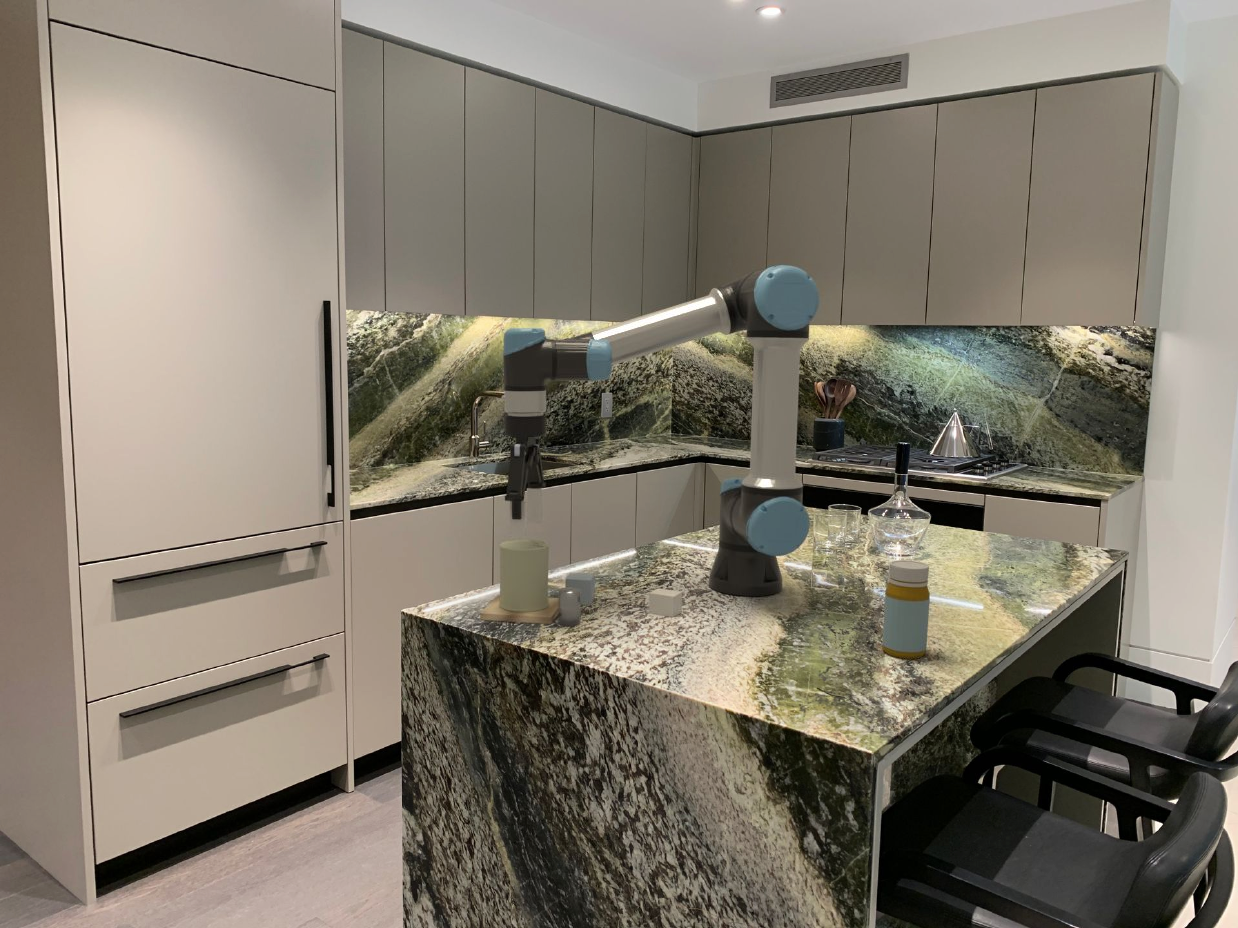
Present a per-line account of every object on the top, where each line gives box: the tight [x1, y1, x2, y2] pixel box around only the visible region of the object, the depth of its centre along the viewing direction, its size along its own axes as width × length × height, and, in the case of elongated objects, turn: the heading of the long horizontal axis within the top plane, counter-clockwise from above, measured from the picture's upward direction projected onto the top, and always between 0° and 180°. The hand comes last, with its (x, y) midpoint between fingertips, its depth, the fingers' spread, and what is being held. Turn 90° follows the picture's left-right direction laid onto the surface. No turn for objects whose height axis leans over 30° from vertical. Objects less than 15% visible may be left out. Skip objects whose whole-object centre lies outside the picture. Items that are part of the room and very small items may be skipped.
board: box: [479, 594, 558, 625], centre depth 179 cm, size 13×13×1 cm
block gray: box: [564, 572, 596, 606], centre depth 187 cm, size 5×5×5 cm
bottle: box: [881, 559, 931, 660], centre depth 159 cm, size 7×7×15 cm
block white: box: [648, 587, 683, 618], centre depth 180 cm, size 5×4×4 cm
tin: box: [557, 587, 582, 627], centre depth 172 cm, size 4×4×6 cm
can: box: [499, 539, 550, 612], centre depth 178 cm, size 9×9×12 cm
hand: (526, 529), depth 177 cm, fingers open, 13 cm apart
